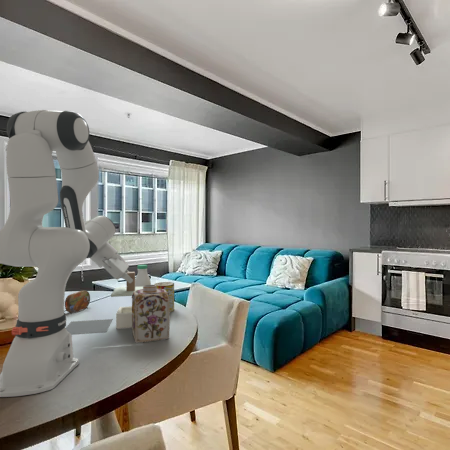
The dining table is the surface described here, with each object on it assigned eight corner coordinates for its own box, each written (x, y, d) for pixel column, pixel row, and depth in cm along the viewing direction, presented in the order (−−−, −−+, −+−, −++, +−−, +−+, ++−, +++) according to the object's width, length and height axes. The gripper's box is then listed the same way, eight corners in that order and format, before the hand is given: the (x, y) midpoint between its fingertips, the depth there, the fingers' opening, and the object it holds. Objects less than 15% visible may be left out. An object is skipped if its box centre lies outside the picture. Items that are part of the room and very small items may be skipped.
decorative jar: (134, 344, 105) (134, 289, 105) (131, 333, 116) (131, 283, 116) (170, 339, 110) (170, 287, 110) (164, 328, 121) (163, 281, 121)
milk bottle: (147, 309, 147) (146, 266, 147) (131, 309, 148) (131, 266, 148) (153, 305, 155) (153, 264, 154) (138, 304, 156) (138, 263, 156)
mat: (106, 333, 116) (106, 332, 116) (58, 336, 113) (58, 335, 113) (112, 320, 132) (112, 319, 132) (71, 322, 128) (71, 321, 128)
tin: (69, 315, 139) (69, 295, 139) (63, 314, 140) (63, 295, 140) (90, 306, 154) (90, 288, 154) (85, 305, 154) (84, 288, 154)
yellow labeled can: (150, 312, 143) (150, 285, 143) (159, 306, 152) (159, 281, 152) (169, 313, 141) (169, 286, 141) (177, 308, 150) (177, 282, 150)
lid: (147, 295, 120) (147, 274, 120) (111, 296, 118) (110, 275, 118) (148, 288, 133) (148, 269, 133) (115, 289, 130) (115, 270, 130)
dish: (143, 328, 121) (143, 312, 121) (116, 329, 119) (116, 313, 119) (145, 320, 131) (144, 305, 131) (119, 321, 129) (119, 307, 129)
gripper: (107, 253, 114) (136, 279, 116) (115, 248, 134) (139, 271, 136) (94, 266, 113) (123, 292, 115) (104, 259, 133) (129, 282, 135)
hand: (132, 280), depth 125 cm, fingers closed on lid, 3 cm apart
